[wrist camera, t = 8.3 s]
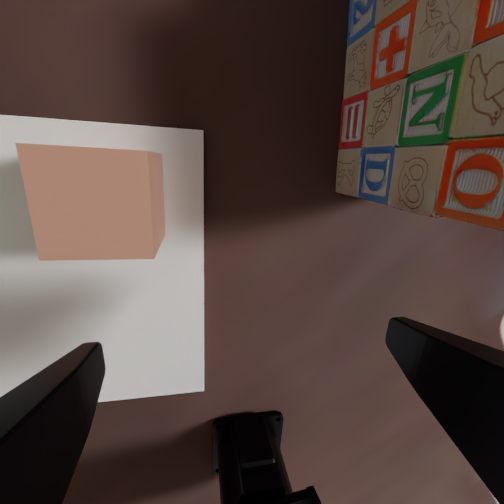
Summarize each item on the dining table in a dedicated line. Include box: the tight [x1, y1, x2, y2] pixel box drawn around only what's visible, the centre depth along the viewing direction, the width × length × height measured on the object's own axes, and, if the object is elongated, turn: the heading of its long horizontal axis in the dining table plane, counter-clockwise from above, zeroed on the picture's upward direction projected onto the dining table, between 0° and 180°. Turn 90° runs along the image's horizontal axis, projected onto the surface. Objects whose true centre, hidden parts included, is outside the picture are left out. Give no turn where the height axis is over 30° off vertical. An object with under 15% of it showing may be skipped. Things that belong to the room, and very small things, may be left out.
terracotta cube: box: [15, 143, 166, 261], centre depth 14 cm, size 5×5×5 cm
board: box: [0, 115, 204, 402], centre depth 18 cm, size 20×24×1 cm
